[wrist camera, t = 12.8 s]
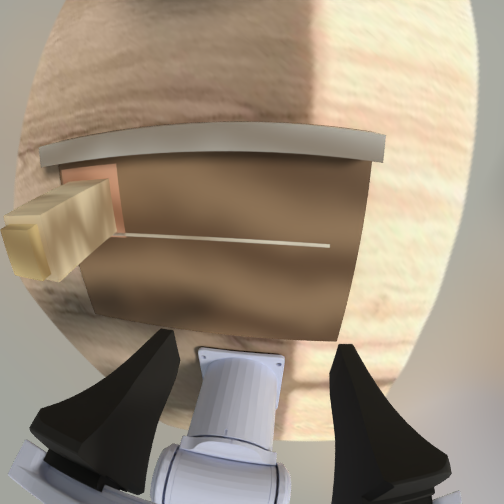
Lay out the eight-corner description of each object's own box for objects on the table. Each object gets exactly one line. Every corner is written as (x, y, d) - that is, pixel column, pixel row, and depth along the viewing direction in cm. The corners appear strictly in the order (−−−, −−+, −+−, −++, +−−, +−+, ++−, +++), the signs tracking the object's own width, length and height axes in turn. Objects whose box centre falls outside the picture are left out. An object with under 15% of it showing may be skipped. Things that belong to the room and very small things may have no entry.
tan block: (116, 231, 19) (51, 290, 12) (78, 229, 20) (13, 281, 13) (108, 178, 17) (30, 221, 10) (69, 181, 18) (-6, 221, 11)
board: (335, 331, 23) (339, 359, 20) (101, 306, 25) (85, 326, 22) (368, 131, 15) (385, 135, 12) (65, 139, 17) (38, 147, 15)
